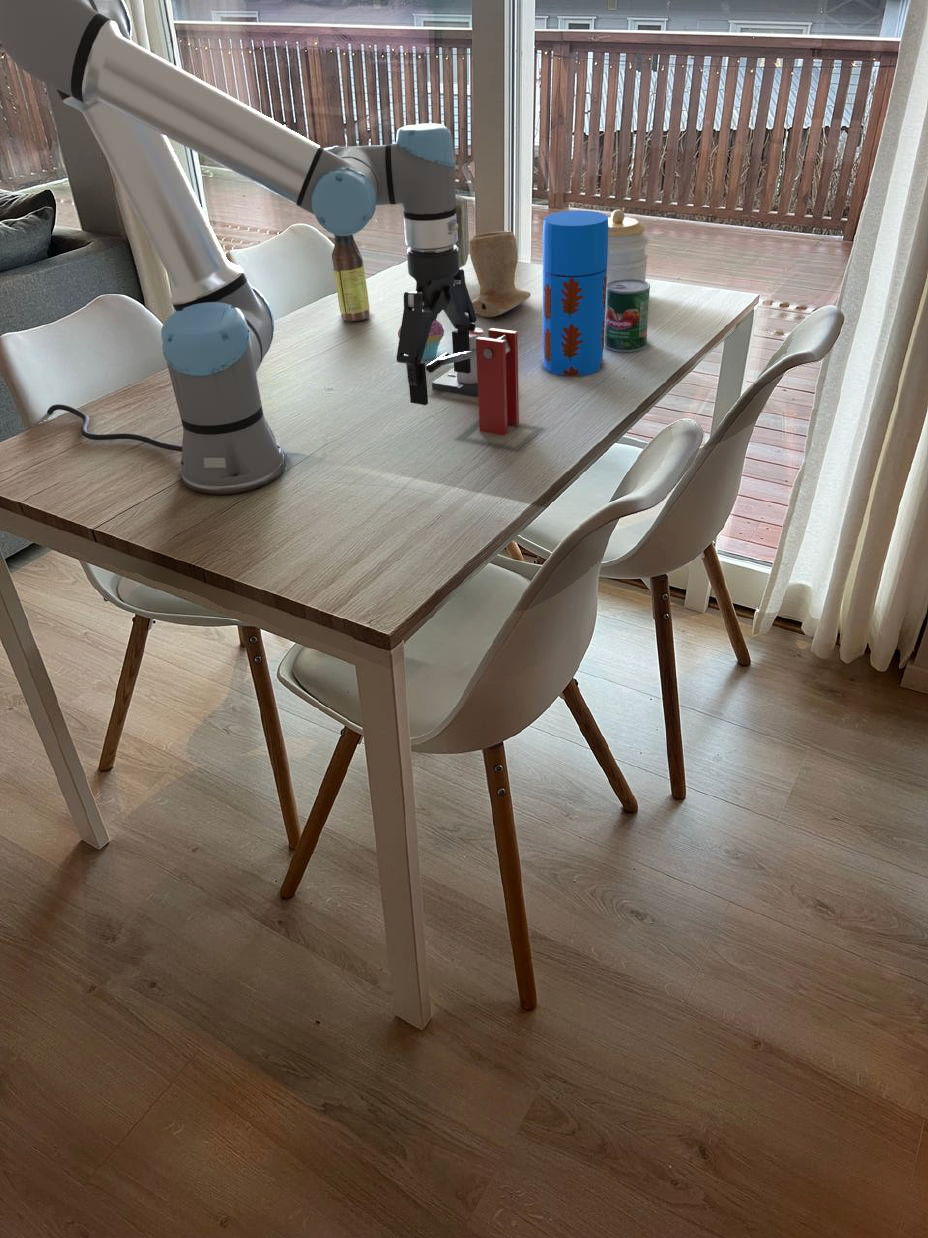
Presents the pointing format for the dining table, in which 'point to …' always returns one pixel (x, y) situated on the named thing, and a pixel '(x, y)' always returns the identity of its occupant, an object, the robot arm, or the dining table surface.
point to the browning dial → (471, 359)
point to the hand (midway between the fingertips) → (441, 387)
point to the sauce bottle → (350, 279)
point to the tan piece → (495, 273)
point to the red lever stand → (497, 381)
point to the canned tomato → (626, 315)
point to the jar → (626, 248)
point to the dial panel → (454, 385)
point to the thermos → (574, 291)
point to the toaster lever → (458, 357)
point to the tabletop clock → (462, 230)
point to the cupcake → (432, 340)
